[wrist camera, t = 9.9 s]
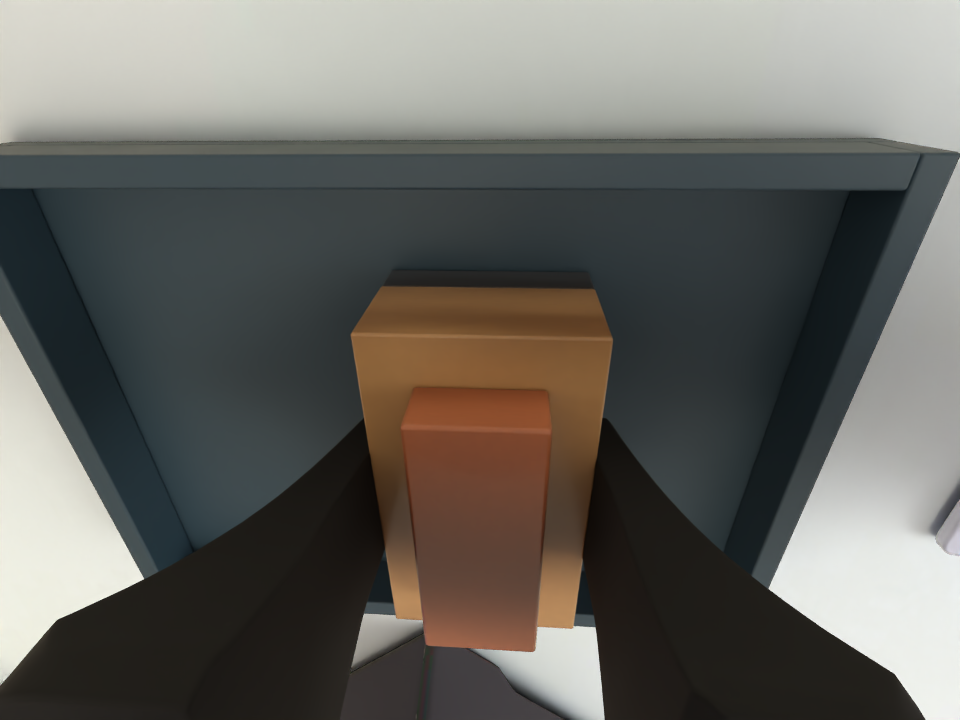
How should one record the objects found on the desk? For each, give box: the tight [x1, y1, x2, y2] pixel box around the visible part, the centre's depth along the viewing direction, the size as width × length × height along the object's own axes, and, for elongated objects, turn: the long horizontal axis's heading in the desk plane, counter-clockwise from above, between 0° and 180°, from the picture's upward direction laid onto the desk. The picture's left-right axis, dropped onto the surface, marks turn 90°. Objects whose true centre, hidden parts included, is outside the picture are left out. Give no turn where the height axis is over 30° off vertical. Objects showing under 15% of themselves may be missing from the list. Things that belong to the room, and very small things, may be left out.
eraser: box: [351, 270, 613, 652], centre depth 11 cm, size 8×4×4 cm, turn 1°
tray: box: [0, 138, 960, 627], centre depth 13 cm, size 18×13×2 cm
